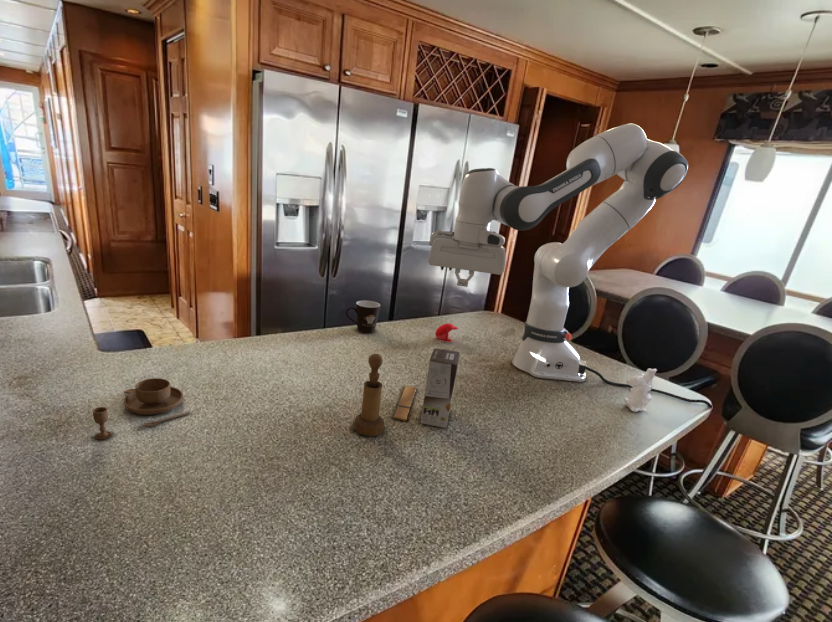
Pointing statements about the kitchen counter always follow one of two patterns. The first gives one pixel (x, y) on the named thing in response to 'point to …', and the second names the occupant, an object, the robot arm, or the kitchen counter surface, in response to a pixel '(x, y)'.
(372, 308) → the coffee mug
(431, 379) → the coffee box
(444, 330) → the cap
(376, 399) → the mortar and pestle
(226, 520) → the kitchen counter surface
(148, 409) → the place setting
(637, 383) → the white animal figurine
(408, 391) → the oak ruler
